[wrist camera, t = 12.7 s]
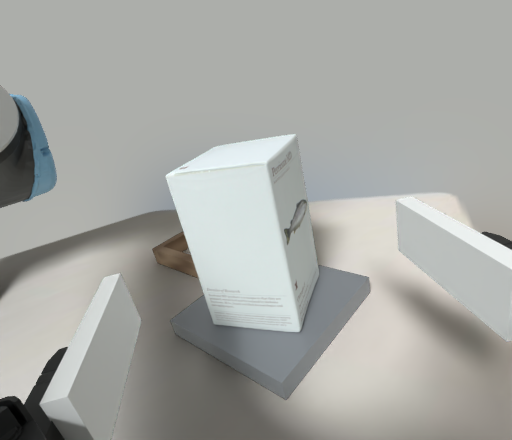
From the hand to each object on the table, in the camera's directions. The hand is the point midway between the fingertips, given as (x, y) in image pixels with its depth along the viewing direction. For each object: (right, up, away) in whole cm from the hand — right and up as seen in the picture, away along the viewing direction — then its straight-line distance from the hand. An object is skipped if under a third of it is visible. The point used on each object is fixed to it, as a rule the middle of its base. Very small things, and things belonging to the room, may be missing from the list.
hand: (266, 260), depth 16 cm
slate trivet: (+1, -6, +13) cm, 14 cm away
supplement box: (+1, -5, +12) cm, 13 cm away
